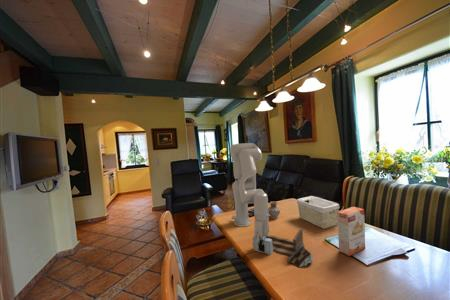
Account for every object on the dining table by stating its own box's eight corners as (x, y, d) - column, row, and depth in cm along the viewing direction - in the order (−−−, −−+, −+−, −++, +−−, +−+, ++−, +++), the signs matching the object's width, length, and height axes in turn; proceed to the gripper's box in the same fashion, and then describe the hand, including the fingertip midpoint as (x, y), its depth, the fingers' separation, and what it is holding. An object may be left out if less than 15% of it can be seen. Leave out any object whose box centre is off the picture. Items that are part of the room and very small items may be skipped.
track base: (259, 247, 107) (258, 231, 107) (269, 236, 119) (268, 222, 118) (296, 257, 96) (295, 239, 95) (303, 244, 107) (302, 228, 107)
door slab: (253, 250, 105) (252, 237, 105) (255, 247, 108) (255, 235, 107) (270, 255, 99) (270, 241, 99) (273, 252, 102) (272, 239, 102)
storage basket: (341, 225, 127) (340, 203, 127) (323, 230, 121) (322, 208, 121) (313, 214, 149) (312, 195, 149) (296, 218, 144) (295, 198, 143)
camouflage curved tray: (298, 272, 86) (313, 250, 87) (286, 260, 91) (301, 240, 93) (305, 277, 91) (319, 256, 93) (293, 266, 97) (307, 246, 98)
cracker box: (350, 257, 93) (348, 214, 92) (338, 251, 98) (336, 211, 98) (366, 248, 99) (364, 208, 98) (354, 243, 105) (352, 205, 104)
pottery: (274, 221, 141) (273, 205, 140) (251, 212, 162) (250, 198, 161) (284, 217, 147) (283, 202, 146) (261, 209, 168) (260, 195, 167)
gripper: (261, 209, 112) (262, 240, 113) (248, 220, 98) (250, 255, 99) (273, 211, 108) (275, 243, 109) (261, 223, 94) (264, 259, 95)
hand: (263, 248), depth 104 cm, fingers open, 4 cm apart
